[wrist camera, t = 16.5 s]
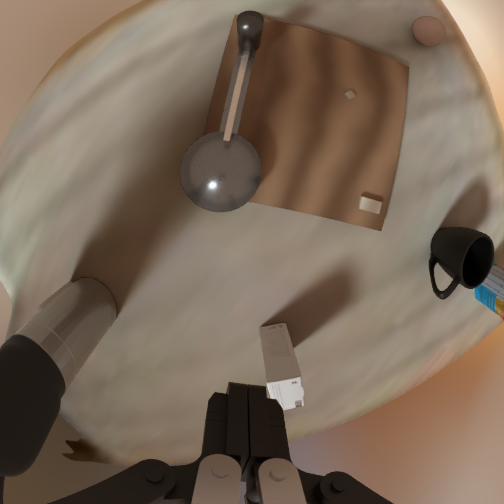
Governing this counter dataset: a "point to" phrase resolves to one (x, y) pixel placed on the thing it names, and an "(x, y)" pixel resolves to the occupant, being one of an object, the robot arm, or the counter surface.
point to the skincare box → (281, 366)
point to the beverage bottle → (492, 291)
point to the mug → (461, 257)
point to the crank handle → (227, 138)
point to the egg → (428, 31)
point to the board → (319, 122)
